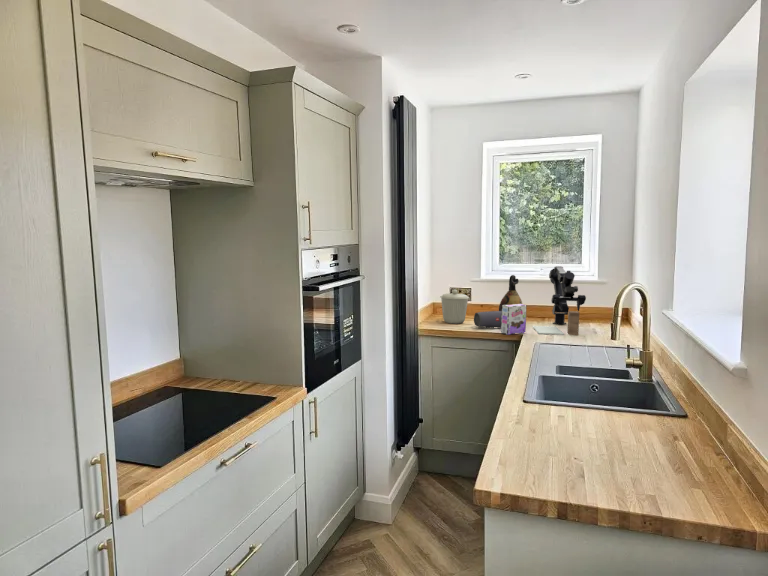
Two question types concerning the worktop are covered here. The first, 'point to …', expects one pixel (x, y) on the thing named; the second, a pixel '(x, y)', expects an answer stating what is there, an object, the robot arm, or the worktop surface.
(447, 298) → the canister
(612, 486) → the worktop surface
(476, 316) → the bluetooth speaker
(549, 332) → the sage mat
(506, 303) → the ceramic jug
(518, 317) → the candy box
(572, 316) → the walnut block
